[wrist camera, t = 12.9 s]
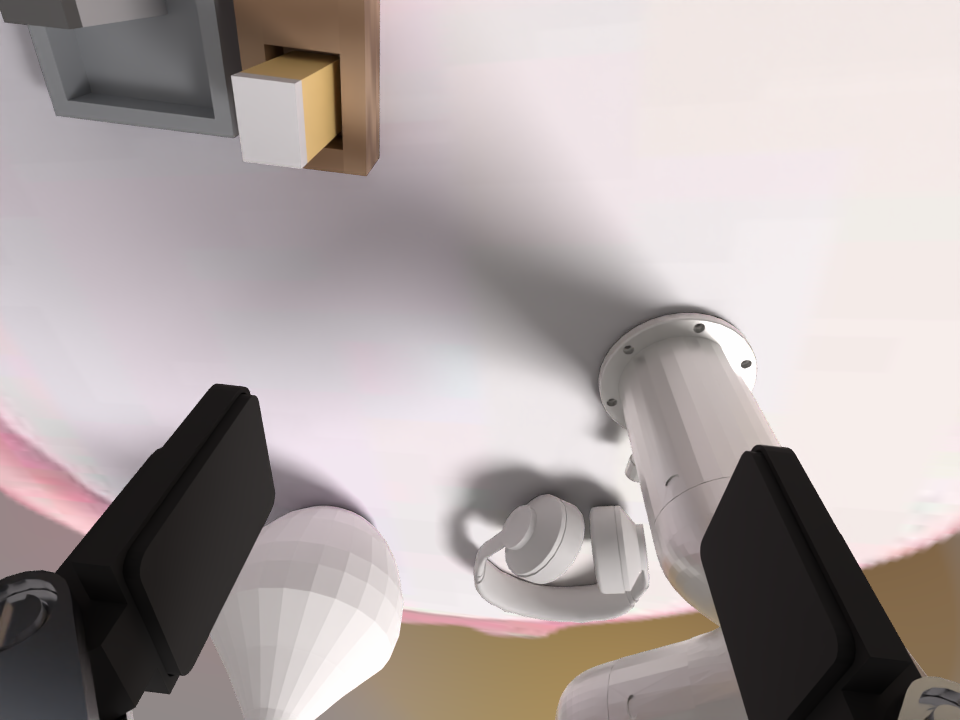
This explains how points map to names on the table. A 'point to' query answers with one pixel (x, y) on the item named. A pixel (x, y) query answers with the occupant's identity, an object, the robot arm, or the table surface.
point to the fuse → (288, 108)
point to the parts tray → (148, 69)
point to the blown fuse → (78, 12)
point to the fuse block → (329, 31)
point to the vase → (309, 614)
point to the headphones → (564, 562)
